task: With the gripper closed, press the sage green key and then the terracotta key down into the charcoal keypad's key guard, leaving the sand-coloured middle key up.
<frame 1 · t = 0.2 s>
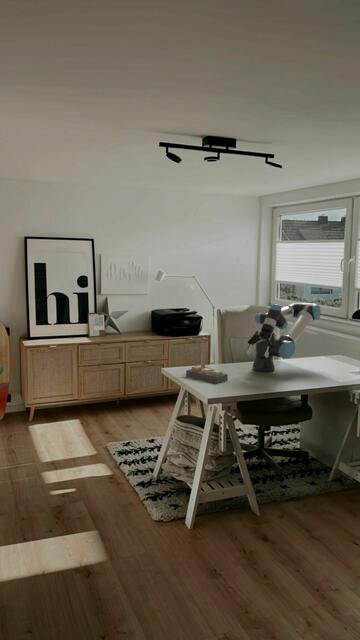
hand: (256, 355, 332), 16 cm above the table, tool tilted 35°, fingers open, 13 cm apart
sand key: (206, 371, 335), point 5 cm above the table, slide at 0.0 cm
headphone stand: (205, 371, 356), on the table
sage key: (216, 373, 329), point 4 cm above the table, slide at 0.0 cm
terracotta key: (197, 369, 340), point 4 cm above the table, slide at 0.0 cm
keypad: (206, 378, 335), on the table
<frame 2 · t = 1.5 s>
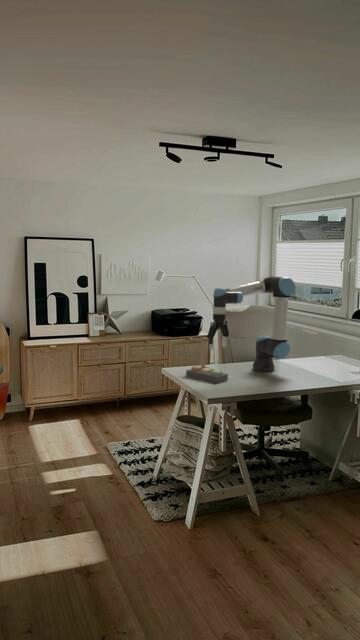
hand: (217, 348, 327), 21 cm above the table, tool pointing down, fingers open, 12 cm apart
nothing on the table moved.
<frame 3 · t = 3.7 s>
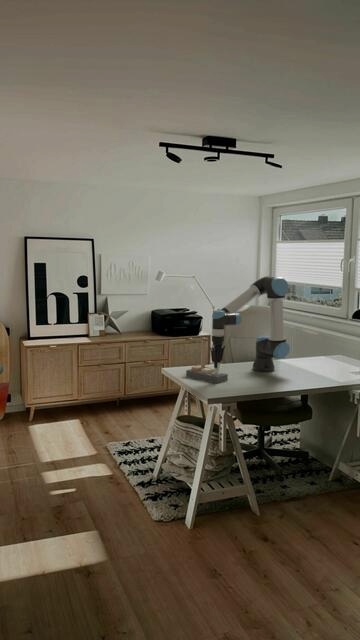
hand: (216, 372, 329), 5 cm above the table, tool pointing down, fingers closed
sage key: (216, 375, 329), point 3 cm above the table, slide at 1.2 cm, touching gripper
everything else where it was.
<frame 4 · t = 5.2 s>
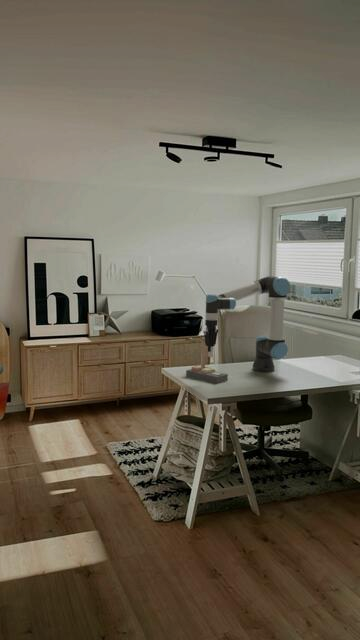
hand: (210, 356, 331), 15 cm above the table, tool pointing down, fingers closed
sage key: (216, 375, 330), point 3 cm above the table, slide at 1.5 cm
everything else where it was.
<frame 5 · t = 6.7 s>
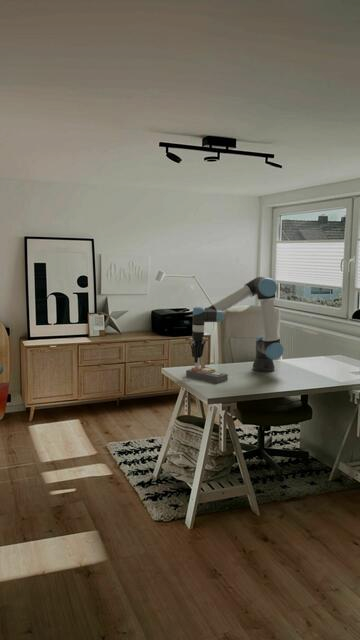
hand: (197, 367, 340), 6 cm above the table, tool pointing down, fingers closed
terracotta key: (197, 370, 340), point 4 cm above the table, slide at 0.5 cm, touching gripper
everything else where it was.
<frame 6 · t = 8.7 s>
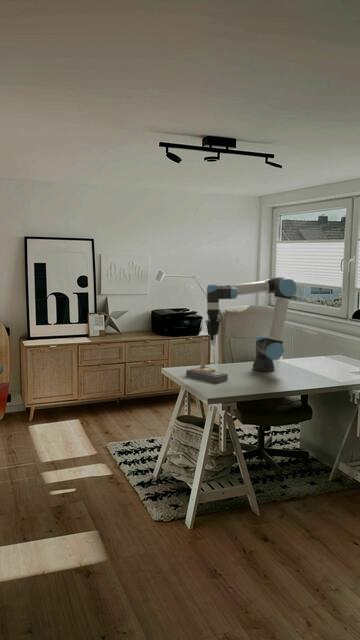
hand: (213, 345, 340), 20 cm above the table, tool pointing down, fingers closed
terracotta key: (197, 371, 340), point 3 cm above the table, slide at 1.5 cm
everything else where it was.
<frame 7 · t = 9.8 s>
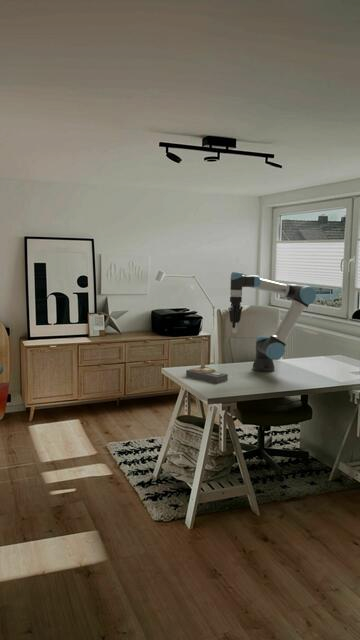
hand: (234, 332, 341), 28 cm above the table, tool pointing down, fingers closed
nothing on the table moved.
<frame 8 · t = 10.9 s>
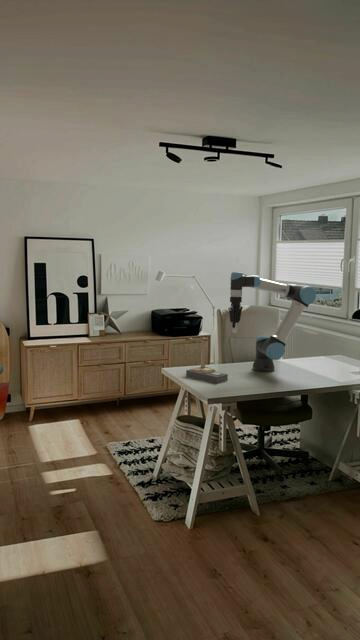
hand: (234, 332, 341), 28 cm above the table, tool pointing down, fingers closed
nothing on the table moved.
at the end: sage key slide at 1.5 cm; terracotta key slide at 1.5 cm; sand key slide at 0.0 cm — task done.
